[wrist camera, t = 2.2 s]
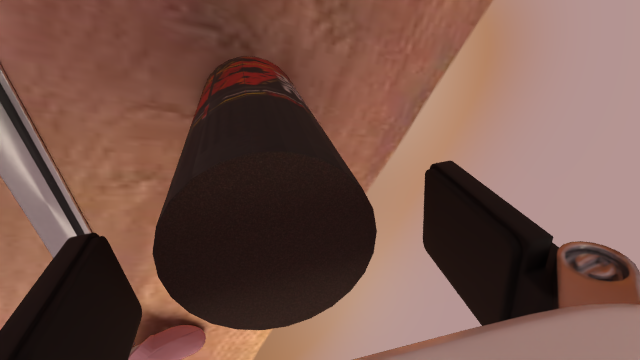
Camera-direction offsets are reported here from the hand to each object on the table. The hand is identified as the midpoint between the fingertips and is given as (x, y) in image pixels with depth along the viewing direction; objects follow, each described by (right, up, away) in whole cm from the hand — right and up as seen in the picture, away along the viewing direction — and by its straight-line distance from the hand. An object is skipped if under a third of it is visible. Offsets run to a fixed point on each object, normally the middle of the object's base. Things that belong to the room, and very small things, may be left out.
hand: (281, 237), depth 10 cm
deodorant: (-3, +7, +12) cm, 14 cm away
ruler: (-16, 0, +12) cm, 20 cm away
